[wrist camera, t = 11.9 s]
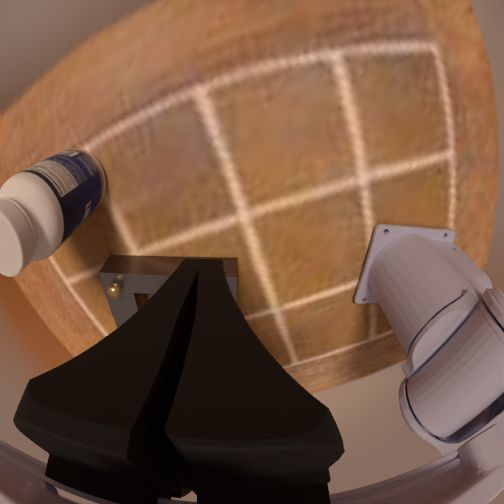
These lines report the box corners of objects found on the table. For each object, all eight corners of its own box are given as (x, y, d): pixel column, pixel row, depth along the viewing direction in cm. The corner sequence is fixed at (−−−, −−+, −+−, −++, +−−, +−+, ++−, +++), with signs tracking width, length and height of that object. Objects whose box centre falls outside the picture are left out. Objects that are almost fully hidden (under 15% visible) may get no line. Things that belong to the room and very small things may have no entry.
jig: (237, 257, 22) (237, 285, 19) (235, 336, 26) (235, 364, 23) (110, 255, 21) (94, 280, 18) (132, 330, 25) (123, 356, 22)
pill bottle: (88, 226, 19) (23, 305, 11) (44, 187, 17) (-35, 248, 9) (120, 175, 18) (43, 241, 9) (71, 133, 15) (-24, 173, 7)
